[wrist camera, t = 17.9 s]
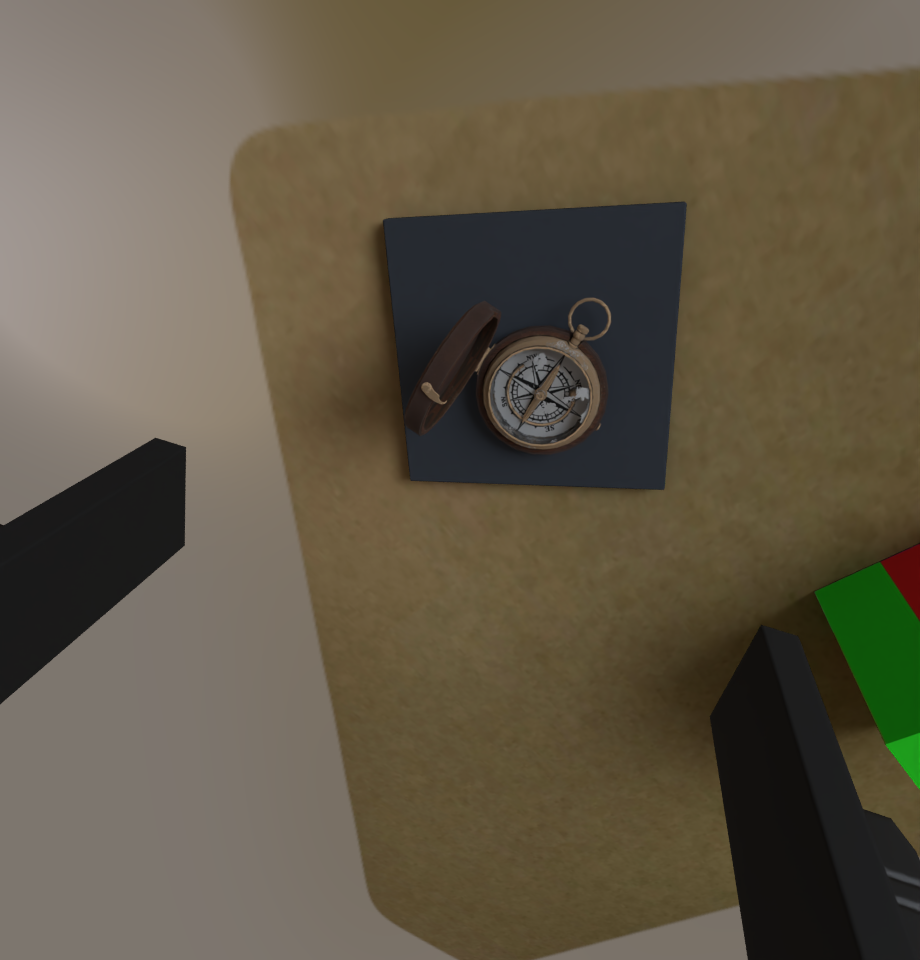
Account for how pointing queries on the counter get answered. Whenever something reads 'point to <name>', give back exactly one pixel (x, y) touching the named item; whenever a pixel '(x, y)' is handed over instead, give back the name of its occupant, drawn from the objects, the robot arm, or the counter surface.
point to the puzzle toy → (883, 646)
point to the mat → (545, 302)
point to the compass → (517, 381)
